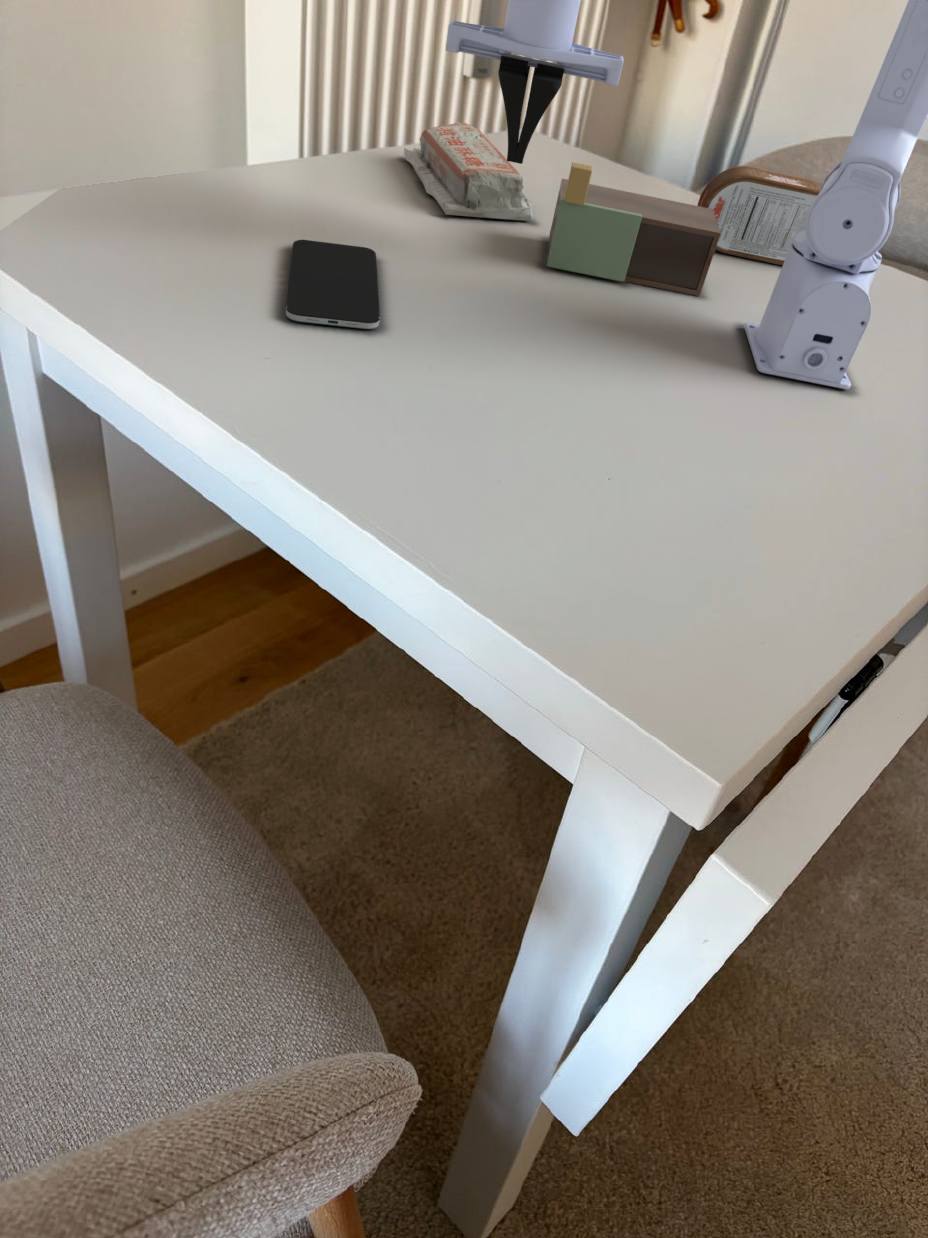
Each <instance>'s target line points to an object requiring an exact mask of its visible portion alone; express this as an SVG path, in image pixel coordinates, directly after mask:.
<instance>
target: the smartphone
mask: <svg viewBox="0 0 928 1238" xmlns="http://www.w3.org/2000/svg"><path fill="white" fill-rule="evenodd" d="M291 249H292V250H291V252H290V253H291V257H290V264H289V277H288V285H287V294H286V295H287V296H286V303H285V316H286V317H287V319H289V320H291V321H294V322H298V323H306V324H307V323H308V324H316V325H318V324H319V325H326V326H335V327H344V328H353V329H362V330H373V329H376V328H378V327H379V326H380V323H381V315H380V300H379V282H378V280H379V279H378V276H379V275H378V265H377V253H376V251H375V250H373V249H372V248H370V247H365V246H357V245H350V244H343V243H342V244H341V243H334V242H327V241H326V242H325V241H318V240H311V239H297V240H294V241H293V243H292V248H291Z"/></svg>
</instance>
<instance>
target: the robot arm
mask: <svg viewBox="0 0 928 1238" xmlns="http://www.w3.org/2000/svg"><path fill="white" fill-rule="evenodd" d="M581 2H582V0H508V1H507V7H506V11H505V12H506V13H505V18H504V24H503V27H497V26H488V25H482V24H475V23H469V22H462V21H459V20H451V21H450V22H449V23H448V28H447V36H446V42H445V51H446V52H450V53H454V54H459V53H462V54H463V53H464V54H469V55H472V56H478V57H482V58H488V59H493V60H497V61H500V62H499V67H498V71H497V73H498V80H499V86H500V89H501V94H502V99H503V105H504V111H505V117H506V118H505V119H506V128H507V129H506V130H507V153H506V160H507V161H508V162H509V163H516V164H520V165H522V164H523V162H524V159H525V156H526V152H527V149H528V146H529V144H530V142H531V140H532V137H533V136H534V133H535V131H536V129H537V126H538V124H539V123H540V121H541V119H542V118H543V116H544V114H545V113H546V111H547V109H548V107H549V106H550V105H551V103H552V101H553V100H554V98H555V97H556V95H557V94H558V92H559V90H560V89H561V87H562V84H563V80H564V79H563V78H564V75H569V76H573V77H577V78H583V79H589V80H592V81H597V82H603V83H604V84H605V85H608V86H612V87H618V86H619V83H620V79H621V74H622V70H623V66H624V63H625V61H624V55H620V54H615V53H611V52H606V51H603V50H600V49H596V48H592V47H588V46H585V45H582V44H578V43H574V42H573V41H574V37H575V31H576V27H577V21H578V16H579V12H580V7H581ZM531 68H534V69H533V74H532V78H531V83H530V89H529V95H528V99H527V105H526V110H525V116H524V120H523V124H522V128H521V121H522V120H521V119H522V113H523V107H524V101H525V96H526V91H527V86H528V79H529V75H530V70H531ZM927 118H928V0H908V1H907V3H906V6H905V8H904V11H903V13H902V15H901V18H900V20H899V23H898V25H897V28H896V30H895V32H894V35H893V37H892V40H891V42H890V44H889V47H888V50H887V51H886V54H885V57H884V60H883V62H882V64H881V66H880V70H879V71H878V74H877V76H876V79H875V81H874V84H873V86H872V88H871V91H870V93H869V95H868V99H867V101H866V103H865V106H864V107H863V110H862V113H861V115H860V118H859V120H858V123H857V125H856V127H855V129H854V132H853V134H852V136H851V139H850V141H849V144H848V145H847V148H846V150H845V153H844V155H843V158H842V160H841V161H840V162H839V163H837V165H836V166H835V167H833V168H832V169H831V170H830V172H829V173H828V174H827V175H826V177H825V178H824V180H823V182H821V183H822V186H821V188H820V191H819V194H818V195H817V197H816V198H815V199H814V200H813V202H812V204H811V205H810V207H809V210H808V212H807V215H806V219H805V230H804V231H801V232H799V233H797V234H795V235H794V238H793V240H792V243H791V246H790V248H789V251H788V253H787V256H786V258H785V261H784V264H783V265H781V266H782V267H781V269H780V272H779V274H778V277H777V279H776V281H775V284H774V287H773V289H772V292H771V294H770V297H769V300H768V301H767V302H768V303H767V304H766V308H765V310H764V312H763V315H762V317H761V320H760V323H756V322H749V321H747V322H745V324H744V327H743V328H744V331H745V334H746V338H747V340H748V344H749V347H750V351H751V353H752V357H753V360H754V364H755V365H756V366H755V367H756V369H757V371H758V372H760V373H762V374H766V375H770V376H771V375H772V376H776V377H780V378H781V377H782V378H786V379H791V380H792V379H793V380H796V381H802V382H807V383H811V384H817V385H822V386H828V387H831V388H832V387H833V388H836V389H837V388H838V389H841V390H849V389H851V386H852V383H851V381H850V378H849V376H848V374H847V370H848V367H849V365H850V364H851V361H852V359H853V357H854V356H855V353H856V351H857V349H858V347H859V344H860V342H861V340H862V338H863V336H864V334H865V331H866V329H867V327H868V325H869V322H870V320H871V316H872V302H871V298H870V297H871V296H870V288H871V285H872V283H873V281H874V279H875V277H876V275H877V272H878V270H879V267H880V266H881V263H882V259H883V256H882V254H881V253H880V252H879V251H880V250H881V249H882V248H883V246H884V245H885V243H886V242H887V240H888V239H889V237H890V235H891V233H892V230H893V227H894V219H895V214H896V213H895V212H896V210H897V208H898V206H899V203H900V200H901V179H902V177H903V174H904V172H905V170H906V167H907V165H908V162H909V160H910V157H911V155H912V152H913V151H914V147H915V145H916V144H917V141H918V138H919V136H920V134H921V131H922V129H923V127H924V125H925V122H926V120H927ZM520 130H521V132H520Z"/></svg>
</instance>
